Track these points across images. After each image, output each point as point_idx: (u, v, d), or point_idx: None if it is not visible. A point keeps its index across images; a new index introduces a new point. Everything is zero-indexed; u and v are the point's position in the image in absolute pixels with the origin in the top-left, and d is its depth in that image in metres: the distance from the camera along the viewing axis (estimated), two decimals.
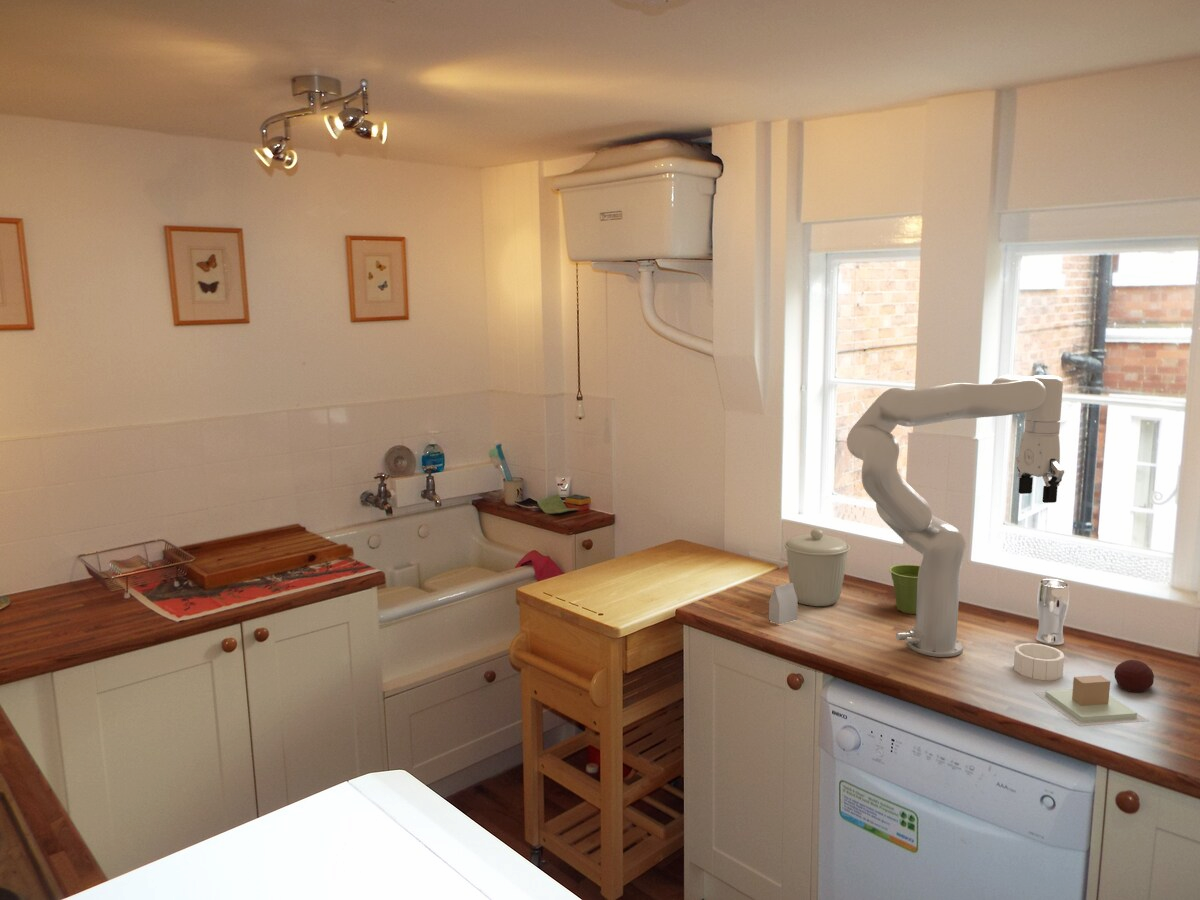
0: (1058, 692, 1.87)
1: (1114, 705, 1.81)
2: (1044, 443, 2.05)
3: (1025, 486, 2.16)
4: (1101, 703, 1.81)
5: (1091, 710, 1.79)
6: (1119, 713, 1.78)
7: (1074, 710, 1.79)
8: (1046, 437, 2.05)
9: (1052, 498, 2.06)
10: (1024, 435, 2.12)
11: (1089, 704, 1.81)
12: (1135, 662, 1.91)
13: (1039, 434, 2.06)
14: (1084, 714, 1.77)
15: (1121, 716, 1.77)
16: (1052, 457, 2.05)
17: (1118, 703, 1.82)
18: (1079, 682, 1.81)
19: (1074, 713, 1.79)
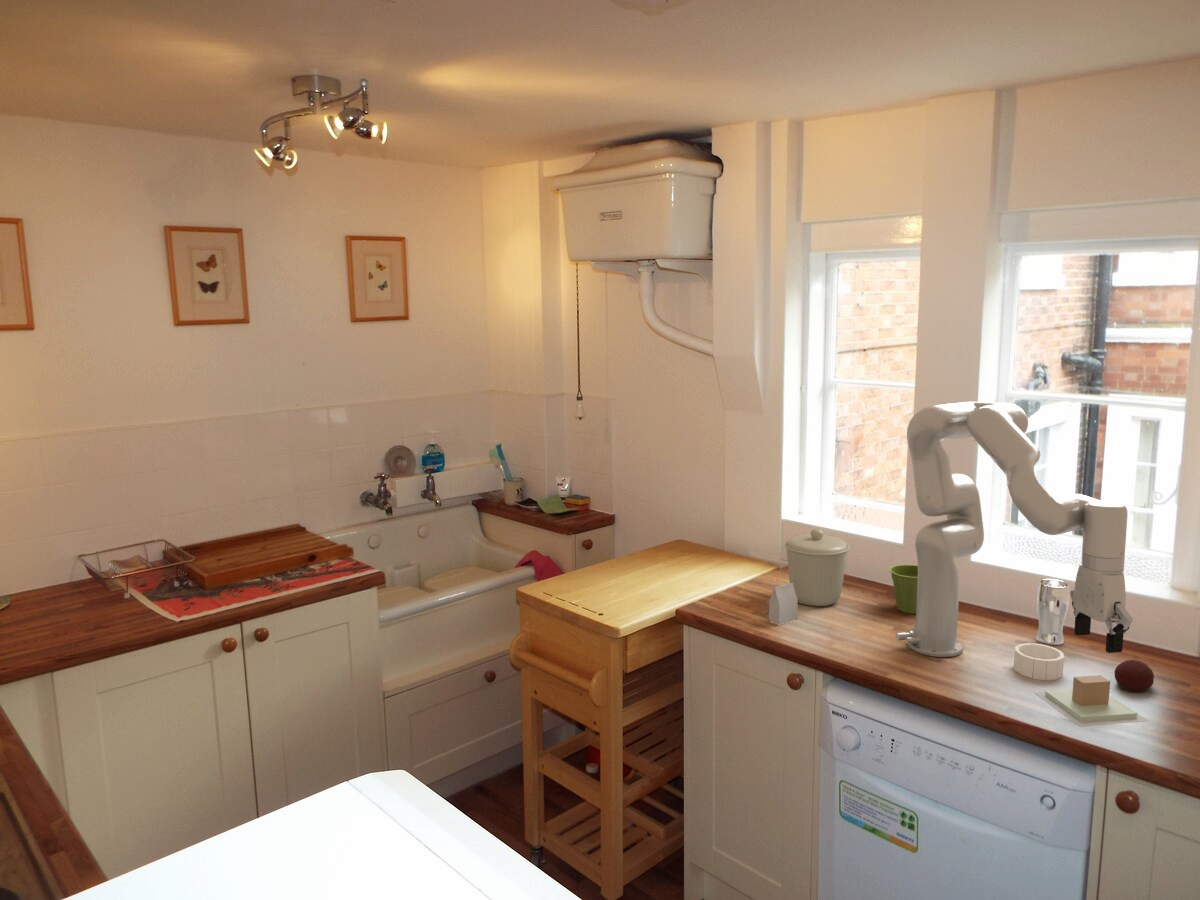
0: (1058, 692, 1.87)
1: (1114, 705, 1.81)
2: (1107, 584, 1.73)
3: (1082, 627, 1.84)
4: (1101, 703, 1.81)
5: (1091, 710, 1.79)
6: (1119, 713, 1.78)
7: (1074, 710, 1.79)
8: (1109, 576, 1.73)
9: (1117, 648, 1.74)
10: (1081, 569, 1.80)
11: (1089, 704, 1.81)
12: (1135, 662, 1.91)
13: (1100, 572, 1.75)
14: (1084, 714, 1.77)
15: (1121, 716, 1.77)
16: (1117, 600, 1.74)
17: (1118, 703, 1.82)
18: (1079, 682, 1.81)
19: (1074, 713, 1.79)
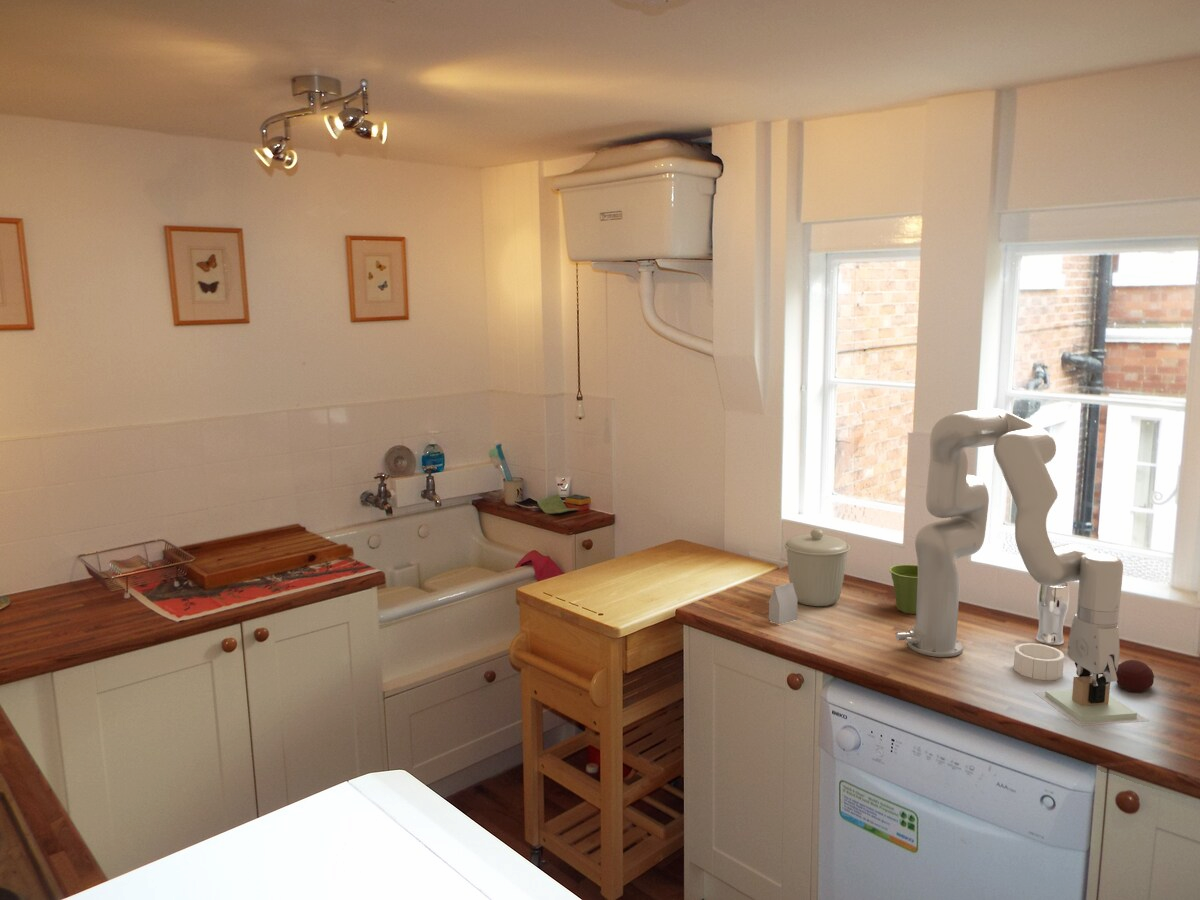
0: (1058, 692, 1.87)
1: (1114, 705, 1.81)
2: (1101, 637, 1.76)
3: None
4: (1101, 703, 1.81)
5: (1091, 710, 1.79)
6: (1119, 713, 1.78)
7: (1074, 710, 1.79)
8: (1104, 630, 1.75)
9: (1100, 699, 1.80)
10: (1076, 620, 1.82)
11: (1089, 704, 1.81)
12: (1135, 662, 1.91)
13: (1095, 625, 1.77)
14: (1084, 714, 1.77)
15: (1121, 716, 1.77)
16: (1110, 652, 1.76)
17: (1118, 703, 1.82)
18: (1079, 682, 1.81)
19: (1074, 713, 1.79)
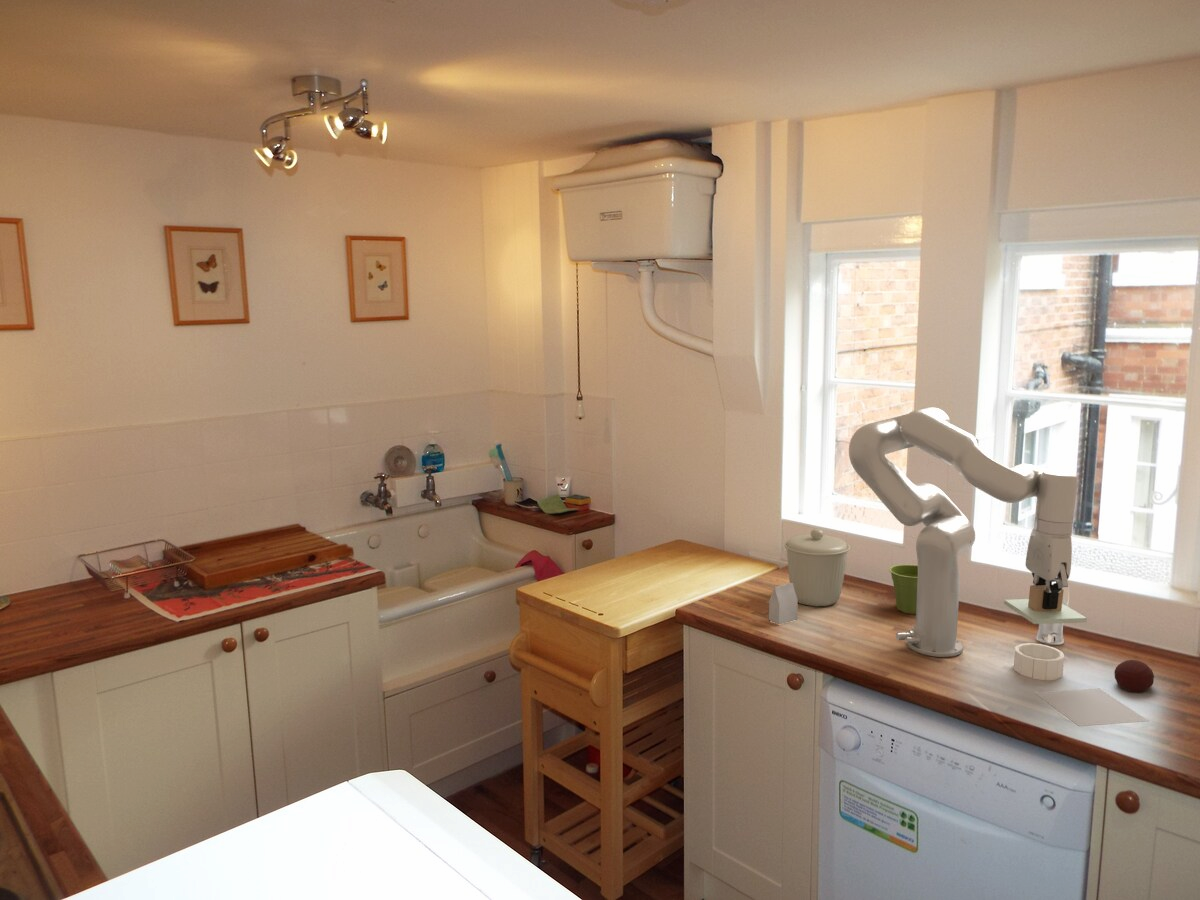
0: (1016, 601, 2.01)
1: (1066, 612, 1.95)
2: (1054, 546, 1.89)
3: None
4: (1054, 609, 1.95)
5: (1044, 614, 1.93)
6: (1070, 617, 1.91)
7: (1028, 614, 1.93)
8: (1057, 539, 1.89)
9: (1052, 605, 1.94)
10: (1034, 532, 1.96)
11: (1043, 610, 1.95)
12: (1135, 662, 1.91)
13: (1050, 535, 1.90)
14: (1037, 617, 1.91)
15: (1071, 620, 1.91)
16: (1063, 560, 1.89)
17: (1070, 610, 1.96)
18: (1034, 589, 1.95)
19: (1028, 617, 1.93)
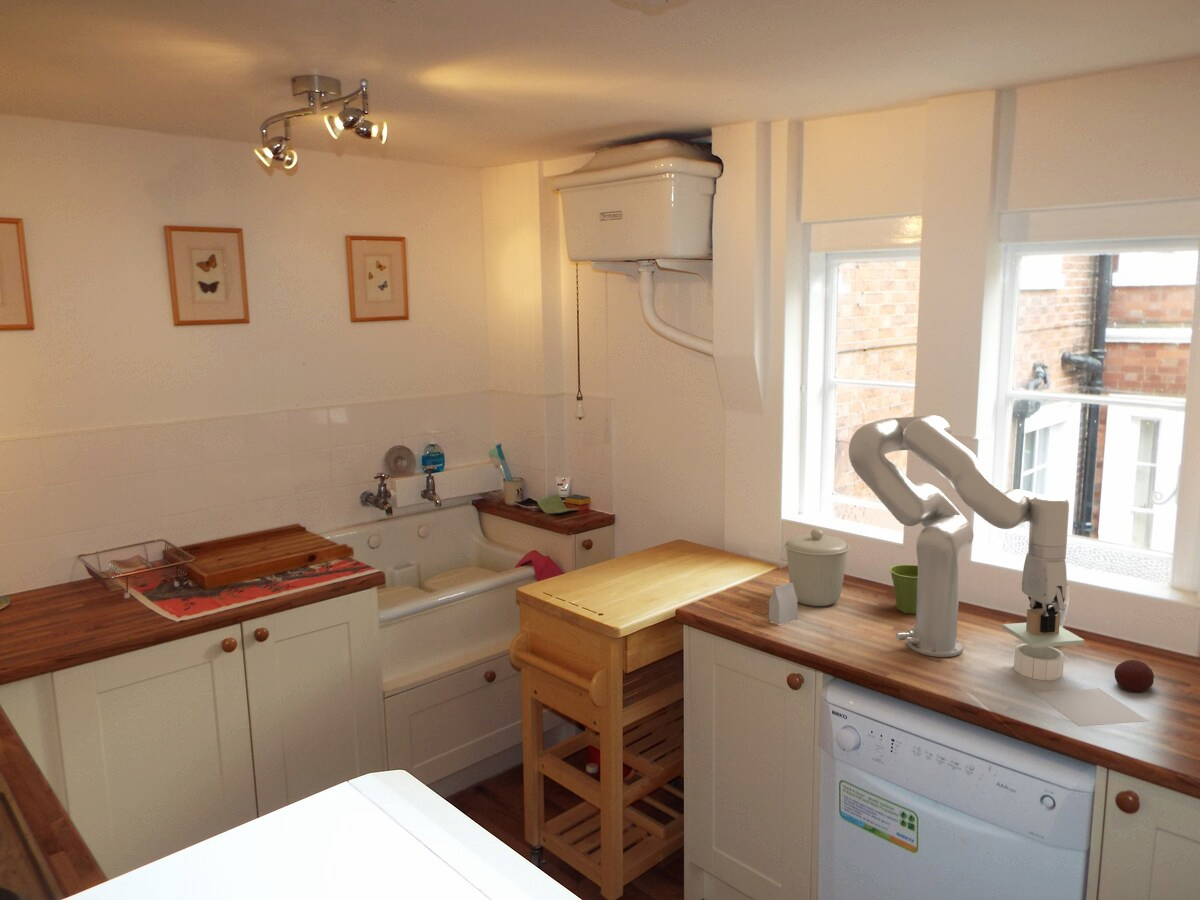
0: (1014, 625, 2.03)
1: (1064, 634, 1.97)
2: (1049, 570, 1.92)
3: None
4: (1052, 632, 1.98)
5: (1043, 638, 1.95)
6: (1068, 640, 1.94)
7: (1027, 638, 1.95)
8: (1052, 563, 1.92)
9: (1050, 628, 1.96)
10: (1028, 557, 1.99)
11: (1041, 633, 1.97)
12: (1135, 662, 1.91)
13: (1044, 559, 1.93)
14: (1036, 641, 1.93)
15: (1070, 643, 1.93)
16: (1058, 584, 1.92)
17: (1068, 632, 1.98)
18: (1032, 613, 1.97)
19: (1027, 641, 1.95)
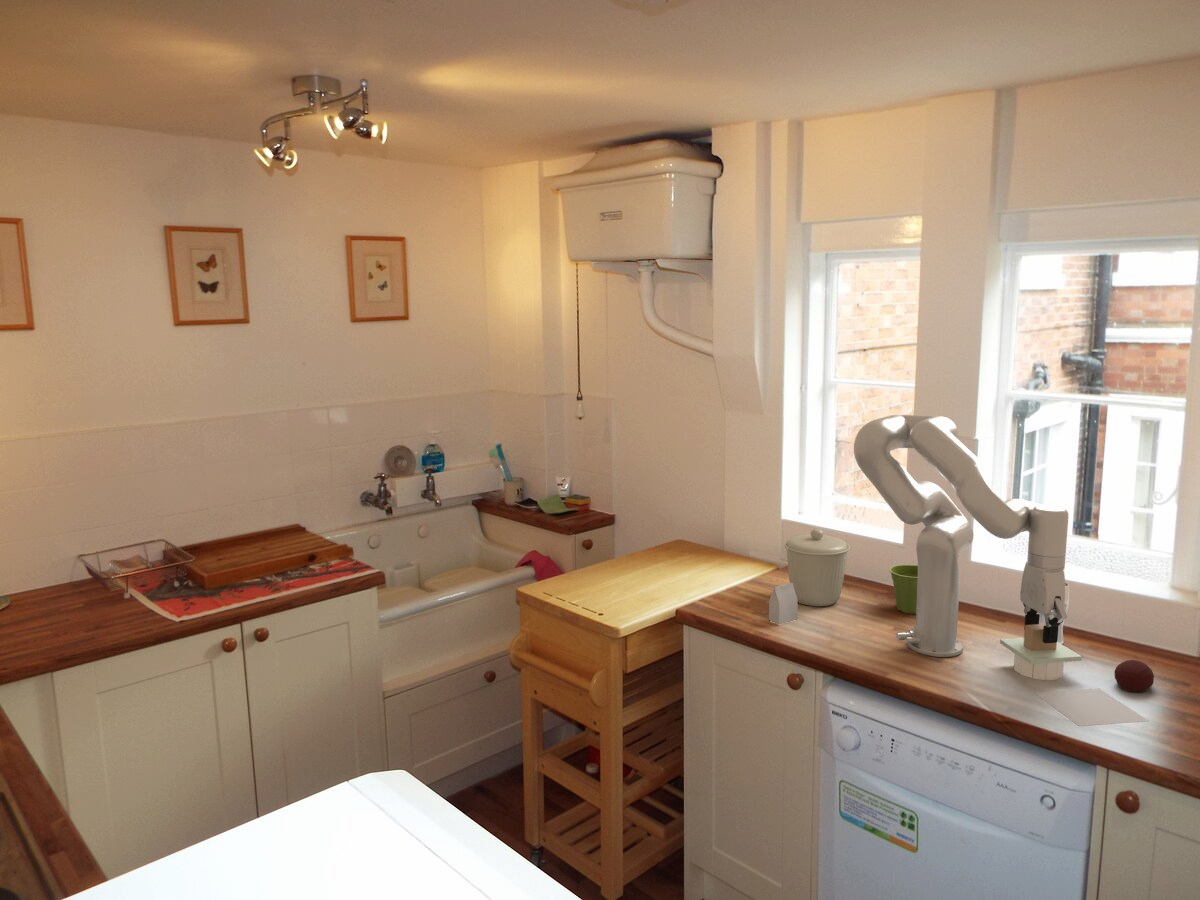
0: (1011, 640, 2.04)
1: (1061, 650, 1.98)
2: (1048, 580, 1.92)
3: (1031, 624, 2.02)
4: (1049, 648, 1.98)
5: (1040, 654, 1.96)
6: (1065, 656, 1.95)
7: (1024, 654, 1.96)
8: (1050, 573, 1.92)
9: (1053, 639, 1.95)
10: (1027, 566, 1.99)
11: (1038, 649, 1.98)
12: (1135, 662, 1.91)
13: (1043, 569, 1.93)
14: (1033, 657, 1.94)
15: (1067, 659, 1.94)
16: (1057, 594, 1.92)
17: (1065, 648, 1.99)
18: (1029, 629, 1.98)
19: (1024, 657, 1.95)
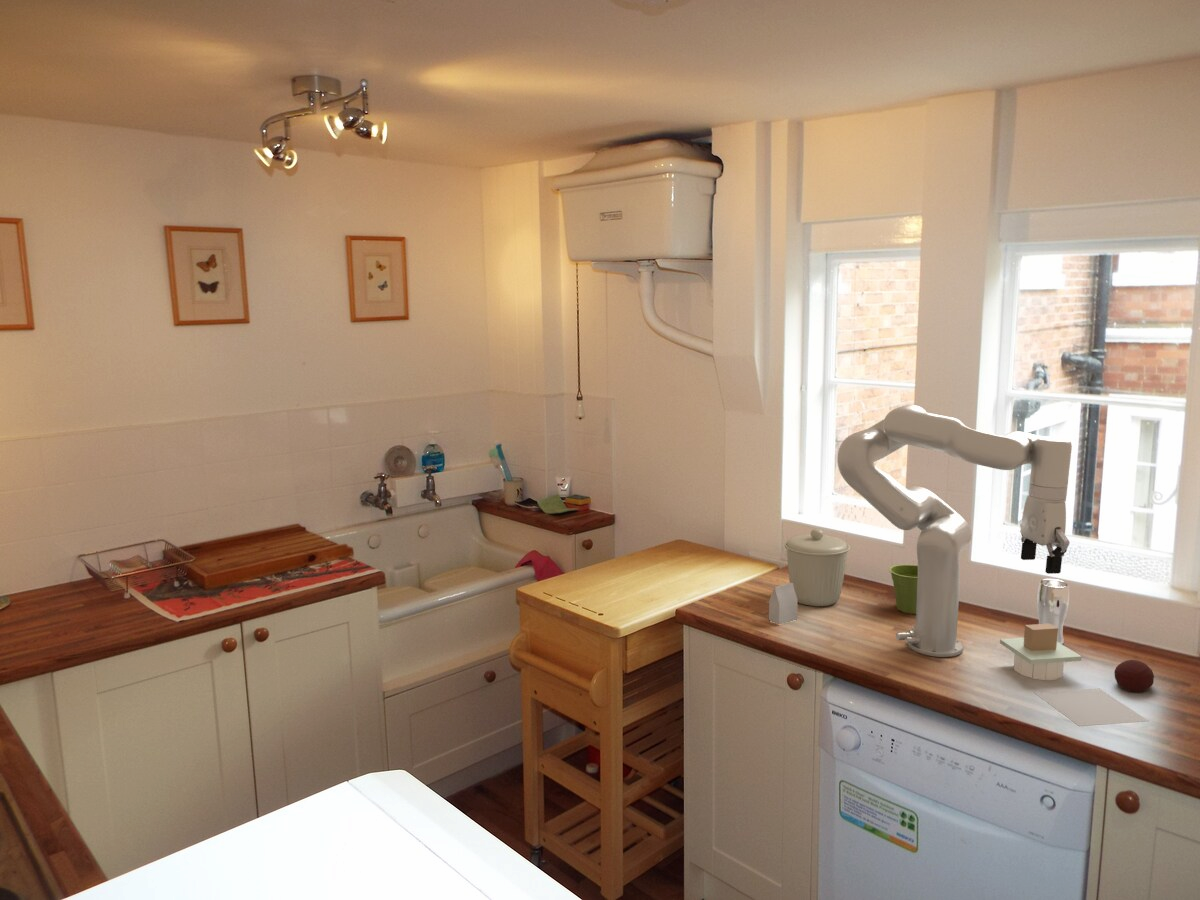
0: (1011, 640, 2.04)
1: (1061, 650, 1.98)
2: (1049, 511, 1.91)
3: (1028, 552, 2.02)
4: (1049, 648, 1.98)
5: (1040, 654, 1.96)
6: (1065, 656, 1.95)
7: (1024, 654, 1.96)
8: (1051, 504, 1.91)
9: (1056, 569, 1.92)
10: (1028, 499, 1.98)
11: (1038, 649, 1.98)
12: (1135, 662, 1.91)
13: (1044, 500, 1.92)
14: (1033, 657, 1.94)
15: (1067, 659, 1.94)
16: (1057, 525, 1.91)
17: (1065, 648, 1.99)
18: (1029, 629, 1.98)
19: (1024, 657, 1.95)
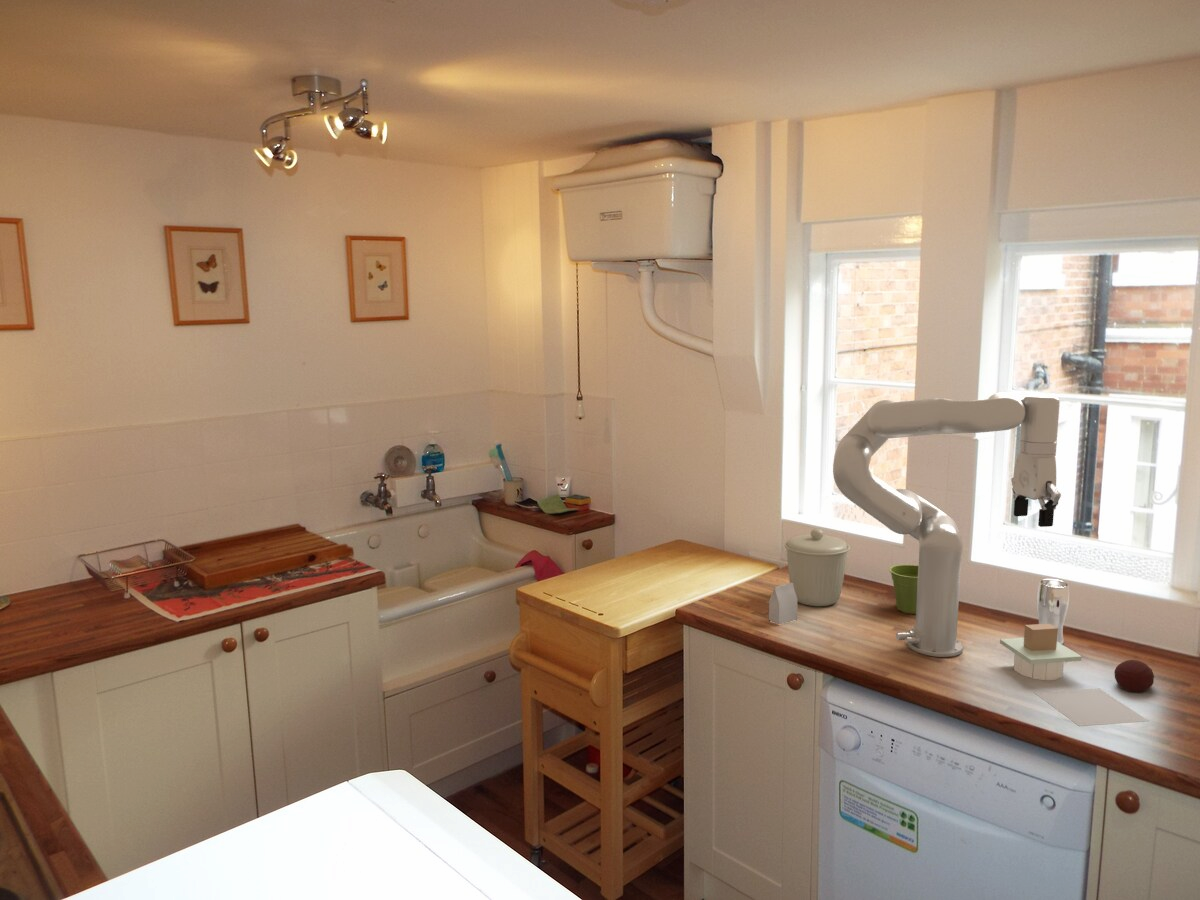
0: (1011, 640, 2.04)
1: (1061, 650, 1.98)
2: (1040, 465, 1.97)
3: (1020, 508, 2.08)
4: (1049, 648, 1.98)
5: (1040, 654, 1.96)
6: (1065, 656, 1.95)
7: (1024, 654, 1.96)
8: (1042, 459, 1.97)
9: (1048, 522, 1.98)
10: (1019, 456, 2.04)
11: (1038, 649, 1.98)
12: (1135, 662, 1.91)
13: (1035, 455, 1.98)
14: (1033, 657, 1.94)
15: (1067, 659, 1.94)
16: (1048, 479, 1.97)
17: (1065, 648, 1.99)
18: (1029, 629, 1.98)
19: (1024, 657, 1.95)
